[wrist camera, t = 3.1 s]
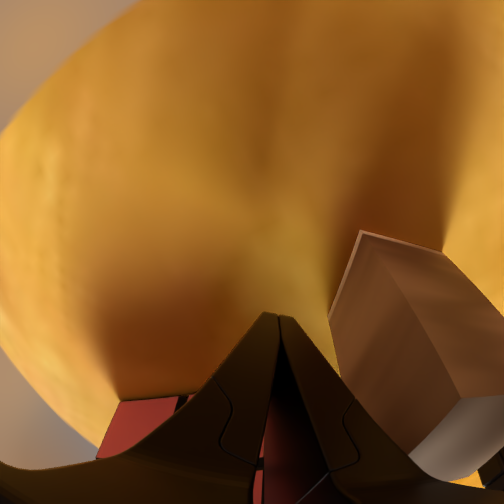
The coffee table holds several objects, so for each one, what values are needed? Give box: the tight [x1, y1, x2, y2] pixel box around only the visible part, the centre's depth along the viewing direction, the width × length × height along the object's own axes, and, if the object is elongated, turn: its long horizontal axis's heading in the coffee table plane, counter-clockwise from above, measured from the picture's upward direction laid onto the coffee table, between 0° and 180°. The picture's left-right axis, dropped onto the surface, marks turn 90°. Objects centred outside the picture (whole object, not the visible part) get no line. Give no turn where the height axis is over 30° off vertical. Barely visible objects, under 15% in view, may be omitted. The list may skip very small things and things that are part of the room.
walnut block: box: [328, 230, 504, 482], centre depth 8 cm, size 4×4×8 cm
